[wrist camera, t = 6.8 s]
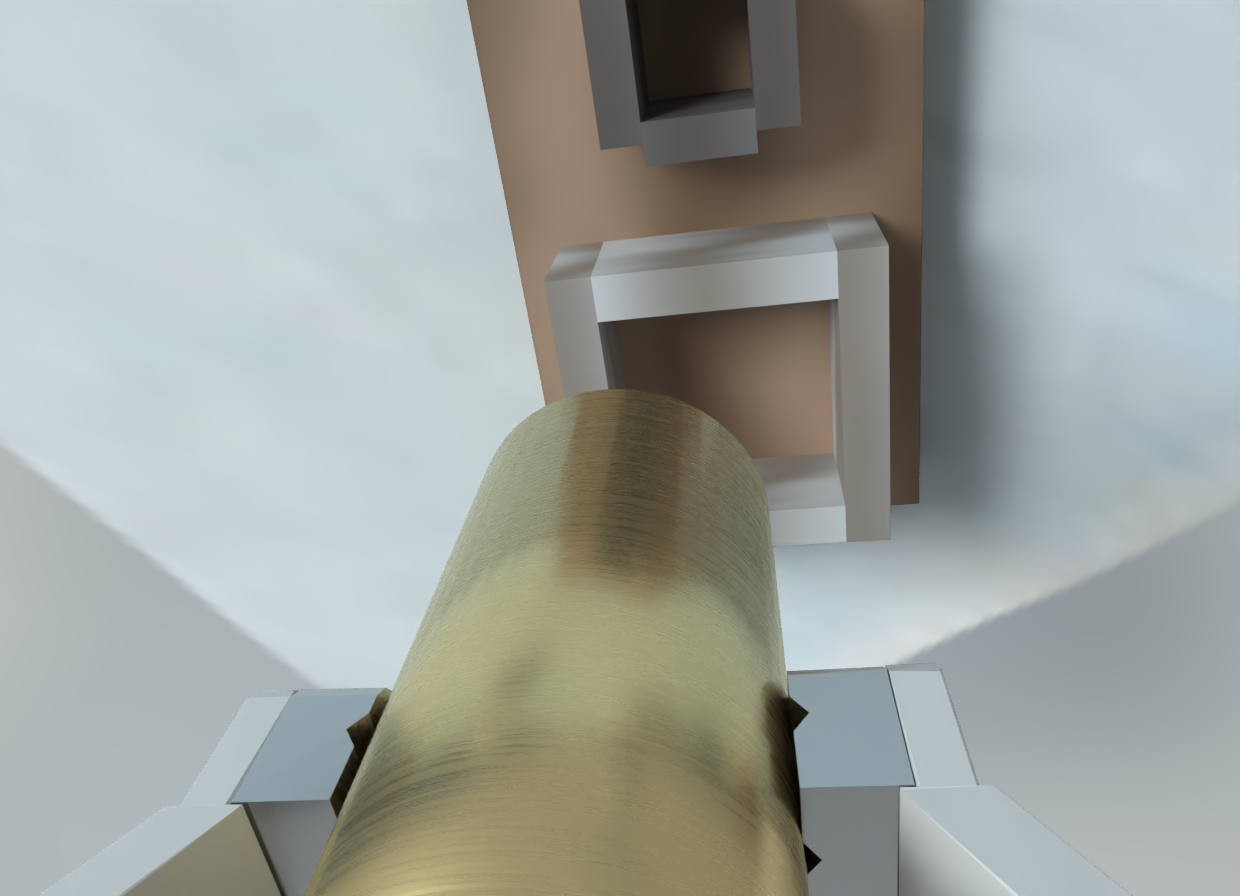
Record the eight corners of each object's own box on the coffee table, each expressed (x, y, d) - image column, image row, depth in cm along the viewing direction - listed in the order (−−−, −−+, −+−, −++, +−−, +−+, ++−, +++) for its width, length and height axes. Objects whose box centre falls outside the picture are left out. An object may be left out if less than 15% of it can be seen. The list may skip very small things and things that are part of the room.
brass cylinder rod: (760, 376, 13) (878, 1377, 4) (776, 629, 14) (880, 1690, 6) (454, 401, 13) (-72, 1329, 4) (508, 641, 15) (221, 1627, 6)
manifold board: (910, -234, 22) (957, -273, 18) (907, 470, 31) (938, 560, 27) (456, -154, 24) (396, -171, 19) (577, 494, 33) (555, 582, 28)
